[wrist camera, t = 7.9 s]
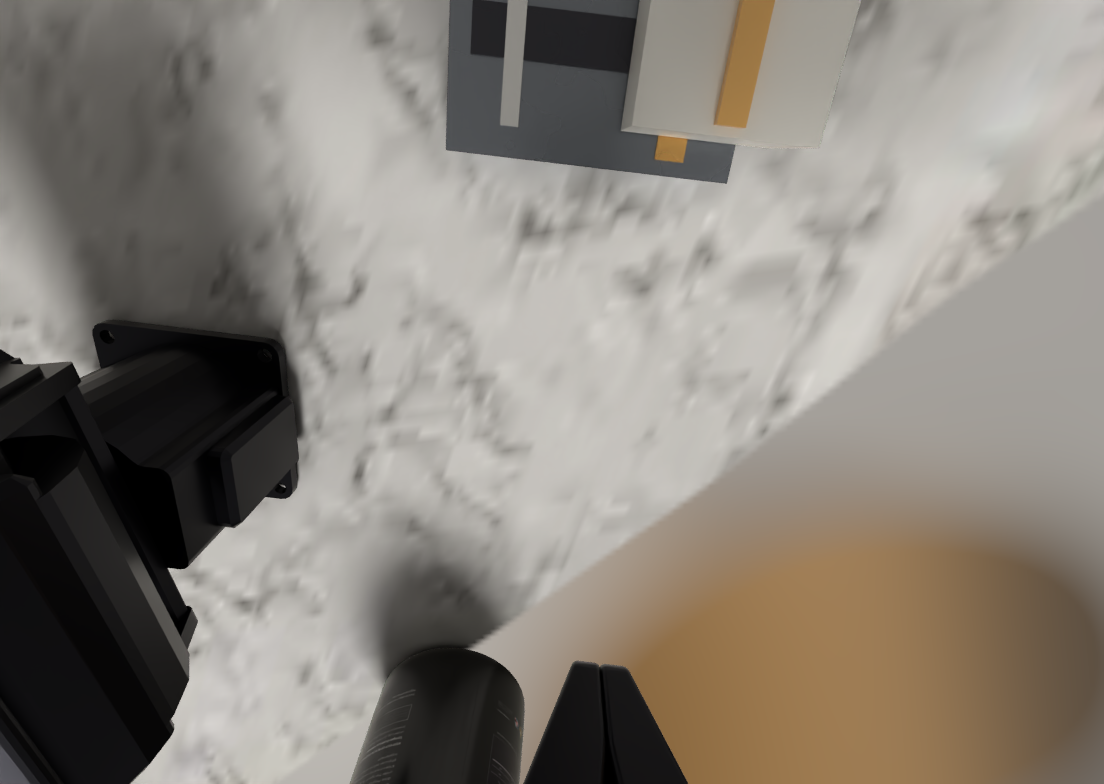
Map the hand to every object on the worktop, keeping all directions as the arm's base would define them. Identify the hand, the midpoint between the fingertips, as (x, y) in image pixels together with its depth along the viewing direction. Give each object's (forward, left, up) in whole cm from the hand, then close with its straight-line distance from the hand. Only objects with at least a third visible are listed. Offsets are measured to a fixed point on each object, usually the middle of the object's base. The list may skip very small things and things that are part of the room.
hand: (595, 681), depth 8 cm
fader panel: (-1, +10, -12) cm, 16 cm away
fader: (+2, +10, -11) cm, 15 cm away
